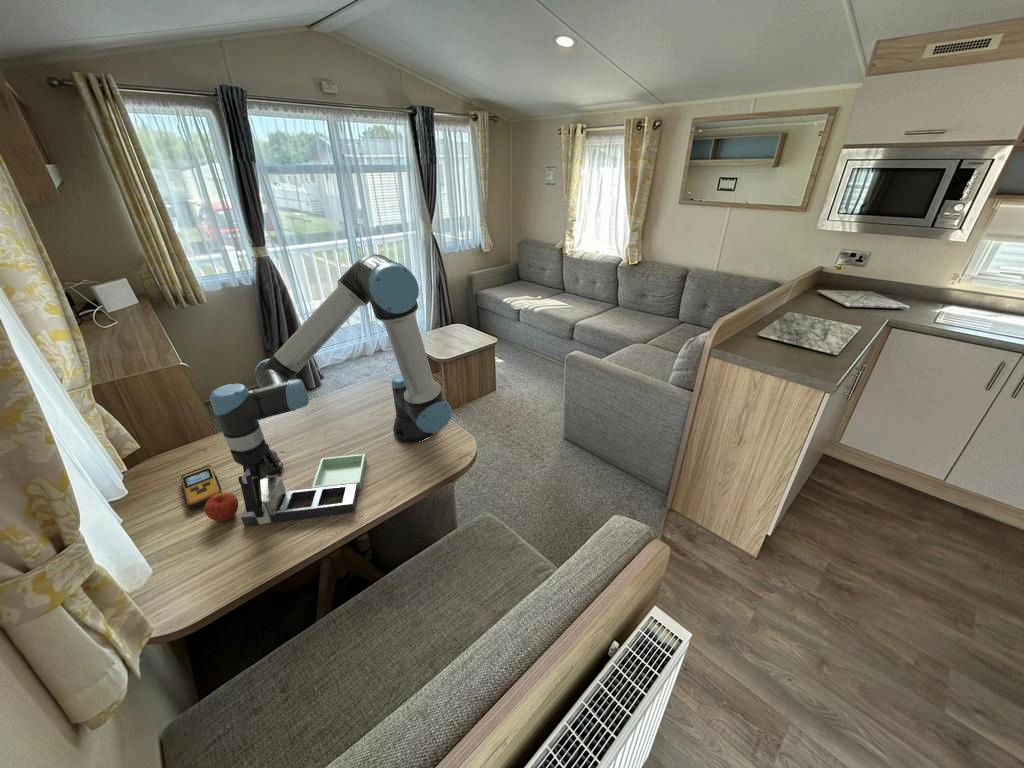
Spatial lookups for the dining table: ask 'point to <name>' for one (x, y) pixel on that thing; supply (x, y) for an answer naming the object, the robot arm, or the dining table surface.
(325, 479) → the tray
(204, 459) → the dining table surface
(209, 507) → the apple
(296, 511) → the rail
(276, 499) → the white rectangular block
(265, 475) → the rock
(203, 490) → the electronic device
